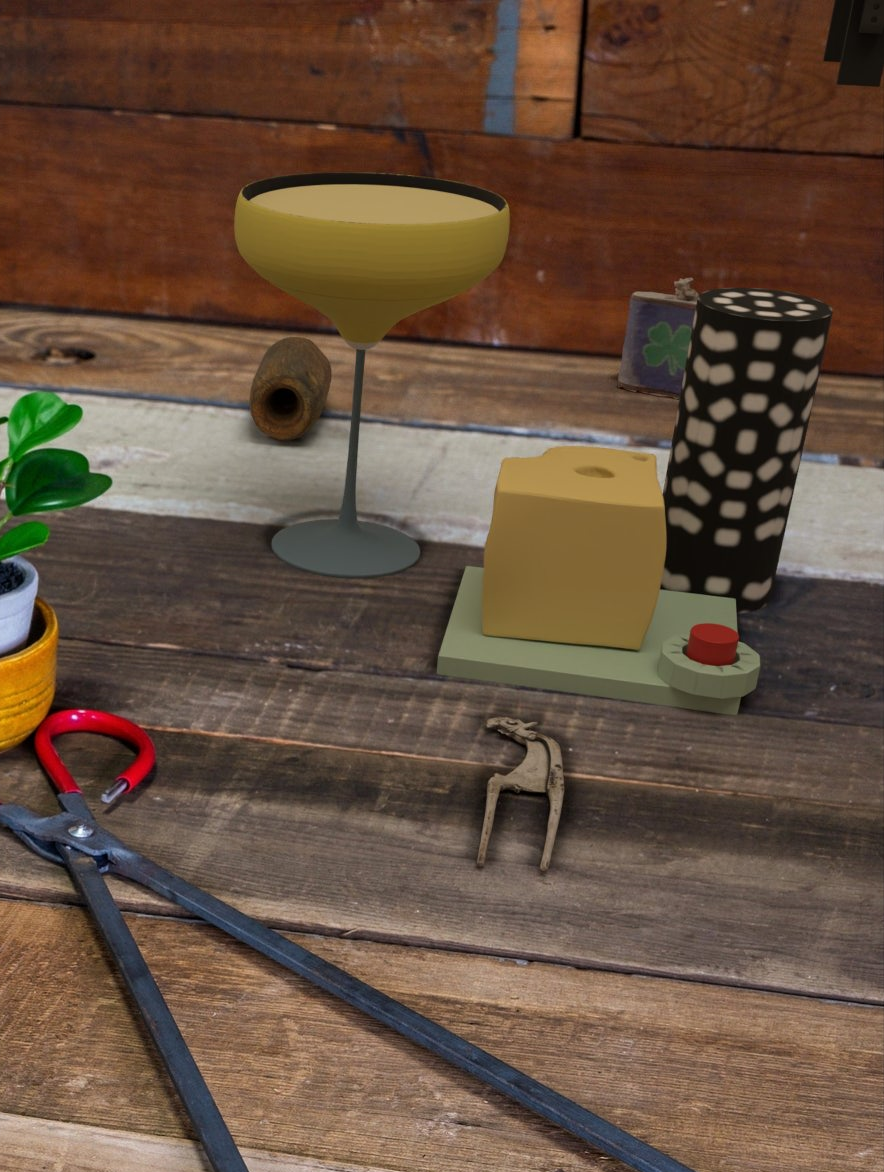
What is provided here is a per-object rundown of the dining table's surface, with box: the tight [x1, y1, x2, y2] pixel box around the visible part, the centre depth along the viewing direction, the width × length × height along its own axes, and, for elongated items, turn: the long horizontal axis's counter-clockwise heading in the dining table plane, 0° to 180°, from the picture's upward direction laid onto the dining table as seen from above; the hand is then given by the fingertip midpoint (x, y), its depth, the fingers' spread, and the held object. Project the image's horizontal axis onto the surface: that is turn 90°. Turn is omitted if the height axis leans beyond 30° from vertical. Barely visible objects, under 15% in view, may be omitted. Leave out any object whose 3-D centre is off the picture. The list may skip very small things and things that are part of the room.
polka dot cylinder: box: [660, 287, 834, 615], centre depth 112 cm, size 8×8×20 cm
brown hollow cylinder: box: [249, 336, 333, 442], centre depth 147 cm, size 15×7×7 cm, turn 175°
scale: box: [435, 565, 761, 716], centre depth 108 cm, size 19×16×3 cm
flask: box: [617, 277, 699, 400], centre depth 156 cm, size 9×3×11 cm, turn 58°
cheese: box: [482, 445, 667, 650], centre depth 107 cm, size 10×11×10 cm
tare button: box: [686, 623, 740, 666], centre depth 101 cm, size 3×3×2 cm
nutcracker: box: [476, 716, 565, 872], centre depth 91 cm, size 16×1×5 cm
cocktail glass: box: [233, 171, 511, 579], centre depth 116 cm, size 18×18×25 cm
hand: (849, 73), depth 119 cm, fingers open, 13 cm apart
